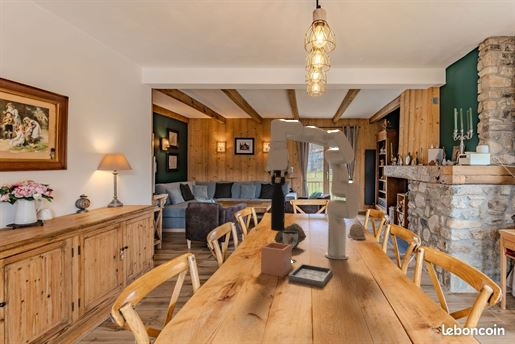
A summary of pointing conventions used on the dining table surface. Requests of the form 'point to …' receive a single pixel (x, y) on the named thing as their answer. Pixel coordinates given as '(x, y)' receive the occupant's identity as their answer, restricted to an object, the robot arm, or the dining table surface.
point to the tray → (311, 275)
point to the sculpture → (356, 232)
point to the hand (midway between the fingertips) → (278, 184)
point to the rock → (291, 228)
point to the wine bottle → (278, 205)
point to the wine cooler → (276, 258)
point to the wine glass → (290, 239)
